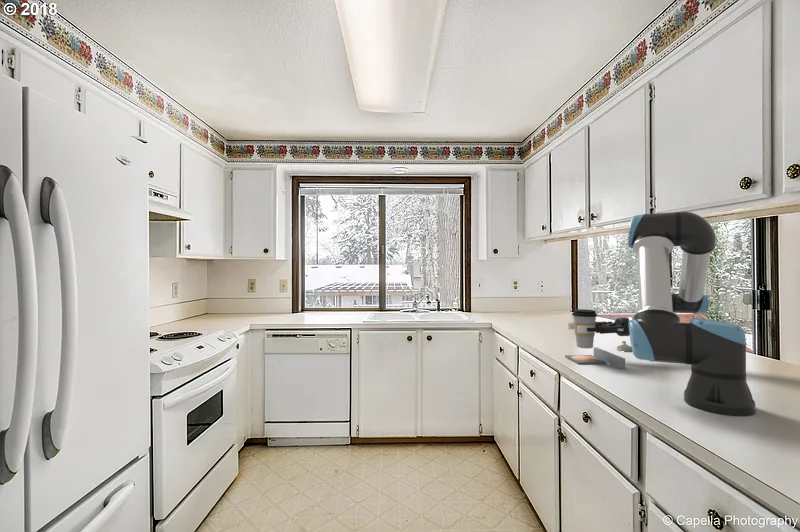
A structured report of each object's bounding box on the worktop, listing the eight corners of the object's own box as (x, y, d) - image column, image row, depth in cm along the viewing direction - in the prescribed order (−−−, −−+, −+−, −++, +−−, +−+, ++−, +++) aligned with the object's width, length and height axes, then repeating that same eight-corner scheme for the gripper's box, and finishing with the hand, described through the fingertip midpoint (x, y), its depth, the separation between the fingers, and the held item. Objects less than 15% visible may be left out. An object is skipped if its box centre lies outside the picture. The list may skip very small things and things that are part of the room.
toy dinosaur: (616, 353, 174) (633, 355, 170) (616, 346, 173) (633, 348, 170) (616, 343, 193) (631, 345, 189) (616, 336, 192) (632, 338, 189)
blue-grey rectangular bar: (625, 369, 143) (625, 358, 143) (621, 369, 143) (621, 358, 143) (597, 356, 163) (597, 347, 163) (593, 356, 163) (593, 347, 163)
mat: (606, 364, 151) (606, 361, 151) (578, 364, 151) (578, 362, 151) (590, 356, 163) (590, 354, 163) (565, 357, 163) (564, 355, 163)
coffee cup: (578, 343, 164) (578, 308, 164) (601, 347, 157) (601, 310, 157) (568, 346, 158) (567, 310, 158) (591, 350, 151) (591, 312, 151)
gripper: (644, 340, 147) (585, 341, 147) (613, 331, 168) (561, 332, 168) (644, 321, 147) (585, 322, 147) (613, 314, 168) (561, 315, 168)
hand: (572, 327), depth 157 cm, fingers closed on coffee cup, 8 cm apart
